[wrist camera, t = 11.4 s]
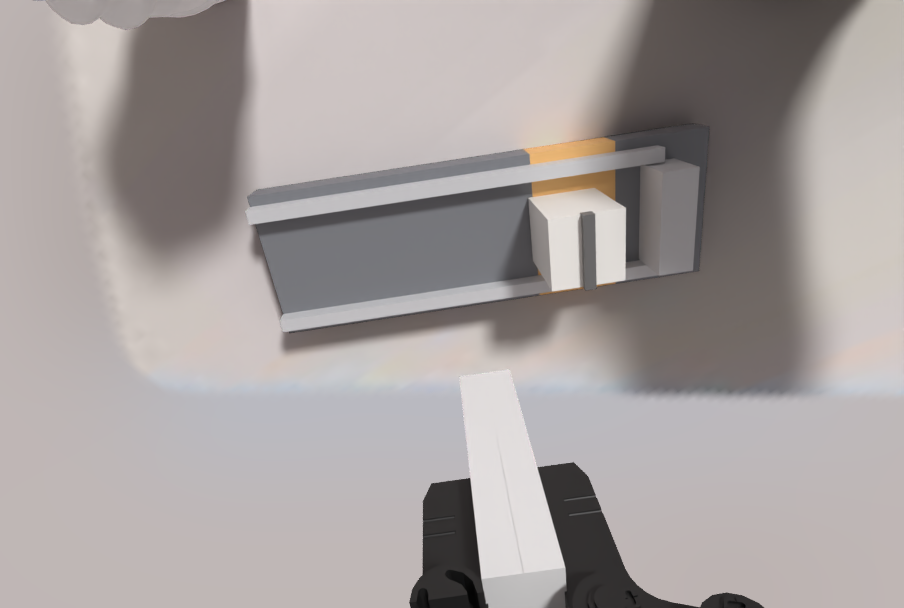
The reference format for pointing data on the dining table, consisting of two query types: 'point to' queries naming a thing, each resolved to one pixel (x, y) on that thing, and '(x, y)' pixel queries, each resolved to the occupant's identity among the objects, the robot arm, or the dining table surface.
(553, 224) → the fader tab
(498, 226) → the slider track
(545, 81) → the dining table surface
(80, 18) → the soft serve ice cream cone
